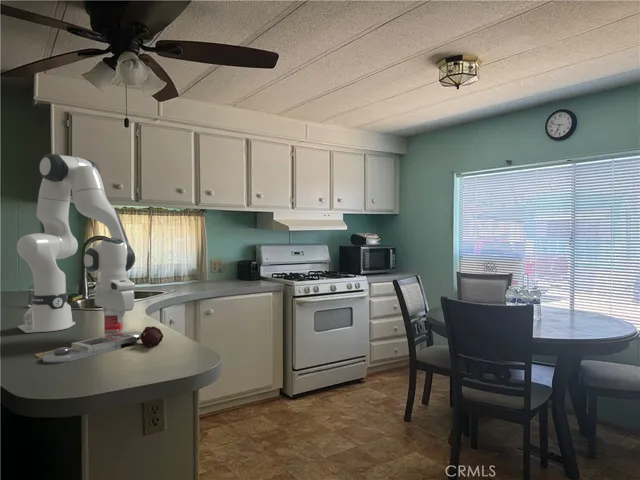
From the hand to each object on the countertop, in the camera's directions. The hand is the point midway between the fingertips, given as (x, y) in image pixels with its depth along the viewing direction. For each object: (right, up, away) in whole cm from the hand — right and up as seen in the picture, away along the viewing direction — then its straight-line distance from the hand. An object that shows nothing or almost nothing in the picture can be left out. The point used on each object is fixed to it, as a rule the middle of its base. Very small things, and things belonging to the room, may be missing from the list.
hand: (113, 320), depth 164 cm
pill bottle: (0, -5, 0) cm, 5 cm away
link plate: (-11, -8, -19) cm, 24 cm away
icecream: (+18, -7, -12) cm, 23 cm away
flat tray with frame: (+2, -7, -16) cm, 18 cm away
